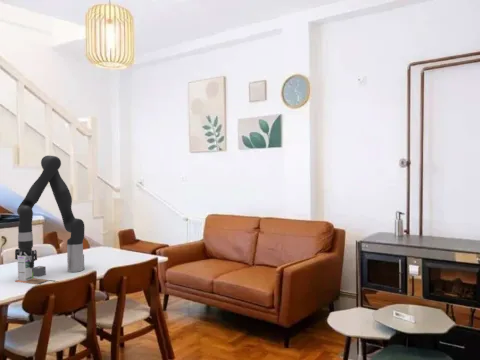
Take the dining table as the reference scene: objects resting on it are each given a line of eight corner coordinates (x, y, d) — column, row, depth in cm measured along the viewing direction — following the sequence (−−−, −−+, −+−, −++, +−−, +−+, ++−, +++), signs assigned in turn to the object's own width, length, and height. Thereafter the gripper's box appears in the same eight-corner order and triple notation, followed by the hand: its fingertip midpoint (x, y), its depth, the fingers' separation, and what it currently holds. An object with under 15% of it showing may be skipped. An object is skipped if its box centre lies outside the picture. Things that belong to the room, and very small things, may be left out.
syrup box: (25, 281, 224) (24, 256, 224) (17, 280, 226) (17, 255, 226) (33, 279, 230) (33, 254, 229) (26, 278, 232) (25, 253, 231)
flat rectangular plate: (26, 277, 233) (26, 277, 233) (60, 281, 225) (60, 281, 225) (14, 281, 226) (14, 281, 226) (48, 285, 217) (48, 285, 217)
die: (39, 273, 242) (39, 265, 242) (45, 274, 241) (45, 266, 240) (32, 276, 238) (32, 267, 238) (38, 276, 236) (38, 268, 236)
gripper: (40, 239, 229) (40, 266, 229) (21, 237, 233) (22, 264, 234) (29, 241, 222) (30, 270, 222) (10, 240, 226) (11, 268, 227)
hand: (26, 267), depth 228 cm, fingers open, 8 cm apart
